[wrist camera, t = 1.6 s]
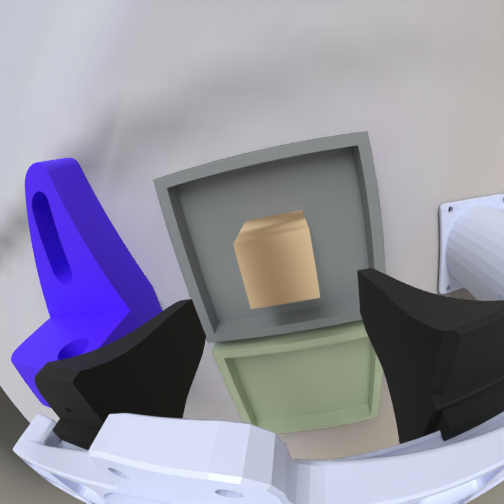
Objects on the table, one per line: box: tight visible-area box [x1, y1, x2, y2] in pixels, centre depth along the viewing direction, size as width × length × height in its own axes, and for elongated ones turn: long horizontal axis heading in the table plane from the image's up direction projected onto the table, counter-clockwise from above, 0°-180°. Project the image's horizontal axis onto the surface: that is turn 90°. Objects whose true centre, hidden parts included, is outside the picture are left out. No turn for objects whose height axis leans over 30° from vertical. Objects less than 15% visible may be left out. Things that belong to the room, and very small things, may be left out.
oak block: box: [233, 210, 320, 309], centre depth 17 cm, size 4×4×5 cm
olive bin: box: [212, 319, 383, 434], centre depth 23 cm, size 14×13×2 cm
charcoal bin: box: [153, 131, 385, 343], centre depth 19 cm, size 14×13×2 cm
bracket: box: [11, 158, 162, 408], centre depth 17 cm, size 18×11×12 cm, turn 13°
